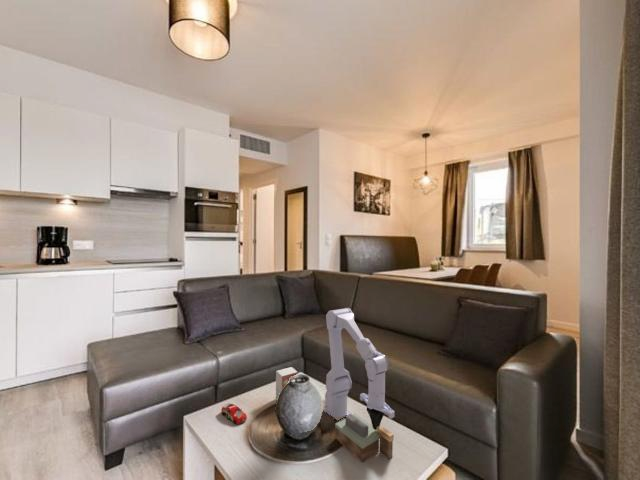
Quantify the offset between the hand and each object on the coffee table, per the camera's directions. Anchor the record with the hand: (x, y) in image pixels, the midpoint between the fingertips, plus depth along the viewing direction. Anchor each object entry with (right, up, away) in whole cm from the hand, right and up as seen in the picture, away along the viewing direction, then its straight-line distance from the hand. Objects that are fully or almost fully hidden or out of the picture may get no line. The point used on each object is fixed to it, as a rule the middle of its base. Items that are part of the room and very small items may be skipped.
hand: (376, 428), depth 107 cm
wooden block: (+2, -1, -3) cm, 4 cm away
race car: (-55, -6, +17) cm, 58 cm away
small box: (-35, -6, +30) cm, 46 cm away
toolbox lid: (-7, -3, +1) cm, 8 cm away
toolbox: (-5, -7, 0) cm, 8 cm away
